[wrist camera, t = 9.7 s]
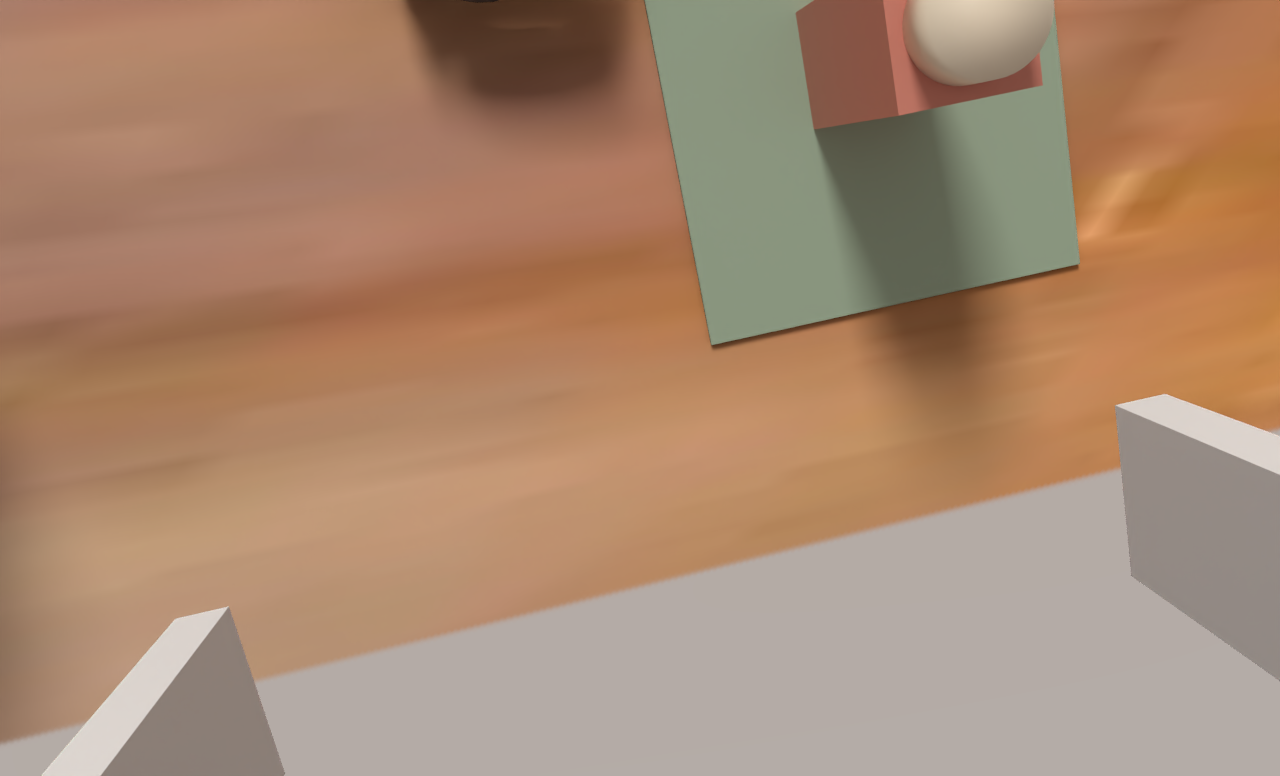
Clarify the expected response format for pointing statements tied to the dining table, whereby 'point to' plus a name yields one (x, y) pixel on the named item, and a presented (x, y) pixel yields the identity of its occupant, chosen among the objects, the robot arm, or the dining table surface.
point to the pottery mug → (480, 0)
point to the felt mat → (847, 178)
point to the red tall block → (916, 54)
